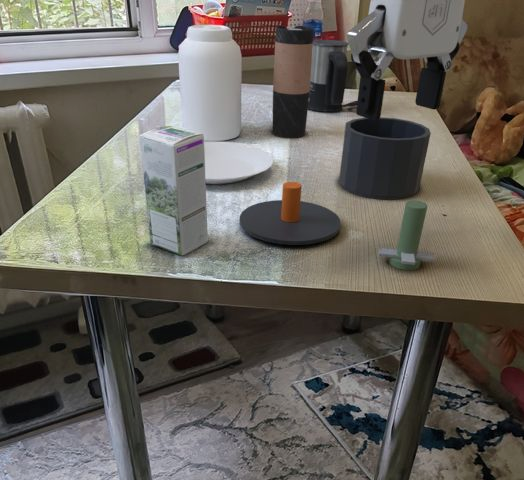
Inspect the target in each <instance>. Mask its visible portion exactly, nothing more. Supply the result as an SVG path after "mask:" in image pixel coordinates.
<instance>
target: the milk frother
mask: <svg viewBox="0 0 524 480" xmlns="http://www.w3.org/2000/svg"><path fill="white" fill-rule="evenodd" d="M348 46H349V42H348V41H343V40H334V39H333V40H332V39H315V40H314V39H313V49H312V63H311V78H310V91H309V102H308V110H311V111H316V112H339V111H341V110H342V109H343V108H347V107H357V101H358V100H353V101H351V102H349V103H345V104H343V103H344V97H345V92H346V91H345V90H346V84H347V76H348V71H349V70H348V69H349V63H348V57H347V54H348Z"/></svg>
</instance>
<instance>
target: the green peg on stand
mask: <svg viewBox="0 0 524 480" xmlns="http://www.w3.org/2000/svg"><path fill="white" fill-rule="evenodd" d="M403 210H404V211H403V216H402V220H401V226H400V231H399V236H398V241H397V246H396V247H397V248H396V249H392V248H384V247H383V248H382V247H380V248H378V257H383V258H389V259H388V262H389V264H390V265H391V266H392V267H393V268H396V269H399V270H404V271H414V270H417V269H419V268H420V266H421V263H422V261H423V262H424V261H425V262H435V255H434V254H435V253H432V252H422V251H419V248H420V242H421V237H422V233H423V228H424V223H425V220H426V219H425V218H426V215H427V211H428V204H427V202H424V201H421V200H417V199H416V200H415V199H414V200H407V201H406V202H405V205H404V209H403Z"/></svg>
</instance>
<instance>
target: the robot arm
mask: <svg viewBox="0 0 524 480" xmlns="http://www.w3.org/2000/svg"><path fill="white" fill-rule="evenodd" d="M465 2H466V0H370V3H369V9H368V15H367V16H366V17H364V18H363V19H361V21H359V22H358V23H357V24H356V25H354V26H353V27H352V28H350V29H349V30H348V32H347V42H348V43H349V45H348V46H349V50H350V53H351V54H350V60H351V62H352V63H353V66H354V68H355V73H356V74H355V75H357V77H359V83H358V84H359V85H358V92H357V100H356V101H357V106H356V110H355V112H356V115H357V116H360V117H361V118H369V119H372V120H378V119H379V118H380V117H382V116H381V115H382V109H383V103H384V95H385V89H386V88H385V87H386V79H382V77H383V76H384V74H385V72H386V71H387V69H388V68H389V66H390V65H391V63H392V62H393V60H394V58H395V59H398V60H415V59H423V61H424V62H425V67H421V68H420V73H419V78H418V84H417V88H416V89H417V90H416V96H415V100H414V103H415V105H416V106H419V107H423V108H425V109H430V110H438V109H440V106H441V100H442V95H443V90H444V86H445V80H446V76H447V72H448V71H450V70H451V68H452V65H453V62H452V61H453V60H454V58H455V57H456V55H457V54H458V53H459V51H460V45H461V43H462V42H463V39H464V37H465V35H466V33H467V32H468V27H469V26H468V24H467V22H466V21H465V20H464V19H463V14H464V8H465ZM377 58H378V59H377ZM376 60H377V61H376ZM375 61H376V62H375Z"/></svg>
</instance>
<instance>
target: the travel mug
mask: <svg viewBox="0 0 524 480" xmlns="http://www.w3.org/2000/svg"><path fill="white" fill-rule="evenodd" d="M314 31H315V29H314V27H311V26H306V25H295V26H294V27H293V28H287V27H286V26H285V25H277V26H276V27H275V38H274V39H275V42H274V60H273V61H274V62H273V80H272V81H273V82H272V134H273V135H274V136H277V137H280V138H286V139H295V138H301V137H304V136H305V135H306V129H307V120H308V112H309V111H308V110H309V109H308V102H309V91H310V78H311V63H312V49H313V41H314V33H315V32H314Z"/></svg>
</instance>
